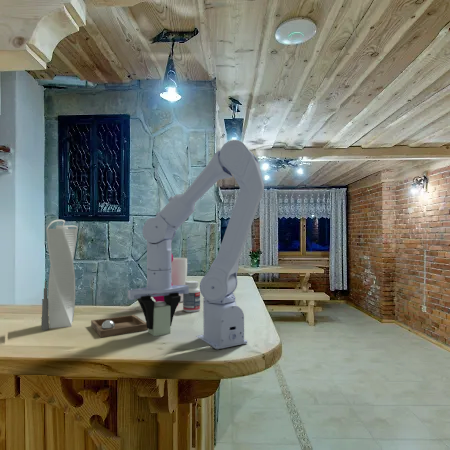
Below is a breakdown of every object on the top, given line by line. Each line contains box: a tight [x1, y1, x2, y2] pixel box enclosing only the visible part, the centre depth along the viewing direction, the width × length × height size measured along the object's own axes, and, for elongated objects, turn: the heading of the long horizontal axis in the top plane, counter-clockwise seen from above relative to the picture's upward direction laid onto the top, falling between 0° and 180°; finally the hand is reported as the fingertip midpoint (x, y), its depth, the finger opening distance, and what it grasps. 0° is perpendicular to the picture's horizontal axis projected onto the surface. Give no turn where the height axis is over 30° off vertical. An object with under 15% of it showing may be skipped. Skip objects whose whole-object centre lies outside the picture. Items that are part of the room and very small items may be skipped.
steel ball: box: [102, 320, 115, 330], centre depth 82 cm, size 3×3×3 cm
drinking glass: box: [171, 257, 188, 303], centre depth 121 cm, size 7×7×15 cm
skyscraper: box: [40, 219, 79, 331], centre depth 89 cm, size 8×8×28 cm
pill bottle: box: [182, 280, 201, 313], centre depth 108 cm, size 5×5×9 cm
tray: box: [90, 314, 148, 338], centre depth 86 cm, size 11×11×2 cm
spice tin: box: [147, 301, 171, 337], centre depth 82 cm, size 4×4×8 cm
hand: (159, 326), depth 82 cm, fingers closed on spice tin, 4 cm apart
